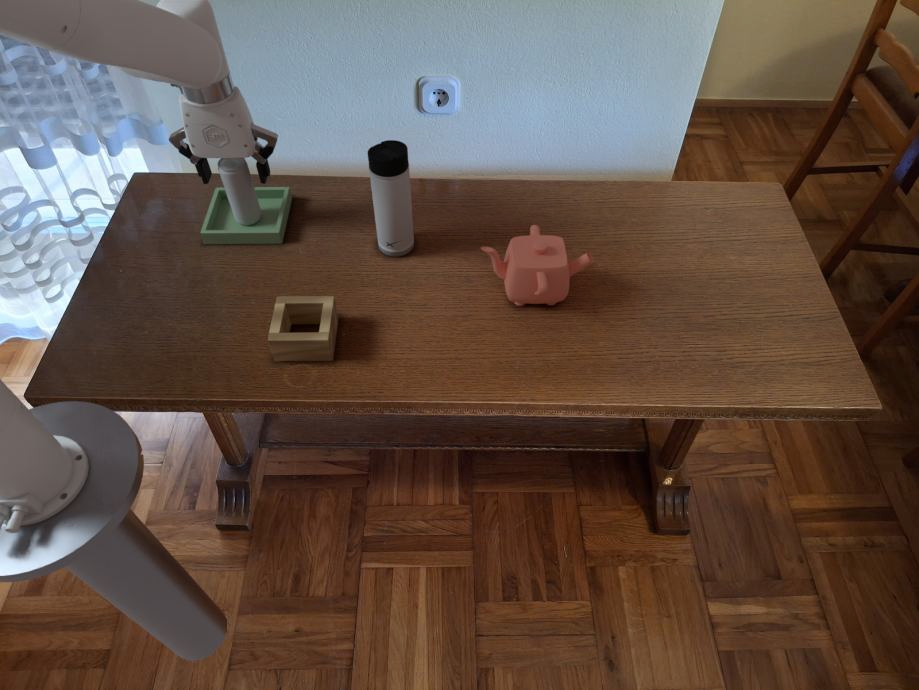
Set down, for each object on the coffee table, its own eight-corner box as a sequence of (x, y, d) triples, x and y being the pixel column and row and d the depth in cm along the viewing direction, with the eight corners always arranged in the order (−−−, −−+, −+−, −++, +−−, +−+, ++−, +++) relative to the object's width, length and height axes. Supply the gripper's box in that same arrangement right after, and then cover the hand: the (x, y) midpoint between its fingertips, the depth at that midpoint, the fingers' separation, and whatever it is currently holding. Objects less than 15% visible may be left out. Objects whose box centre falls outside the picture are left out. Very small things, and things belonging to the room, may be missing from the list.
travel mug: (394, 263, 112) (385, 165, 96) (371, 244, 115) (358, 145, 99) (422, 246, 114) (417, 148, 99) (398, 228, 117) (390, 130, 102)
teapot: (539, 251, 114) (545, 205, 106) (590, 289, 108) (600, 244, 100) (478, 289, 108) (479, 244, 100) (528, 332, 102) (533, 287, 95)
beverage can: (241, 230, 116) (222, 174, 107) (231, 215, 118) (212, 159, 109) (266, 220, 118) (250, 164, 108) (256, 206, 120) (239, 150, 111)
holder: (333, 360, 99) (328, 339, 95) (274, 361, 98) (267, 340, 95) (338, 317, 104) (334, 295, 100) (283, 317, 104) (276, 296, 100)
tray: (282, 243, 115) (279, 232, 113) (204, 244, 115) (199, 233, 112) (292, 198, 123) (289, 186, 121) (219, 198, 122) (215, 187, 120)
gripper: (142, 98, 96) (180, 193, 109) (260, 98, 96) (284, 192, 109) (156, 72, 100) (190, 166, 114) (269, 72, 101) (290, 165, 114)
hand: (236, 179), depth 111 cm, fingers open, 9 cm apart
